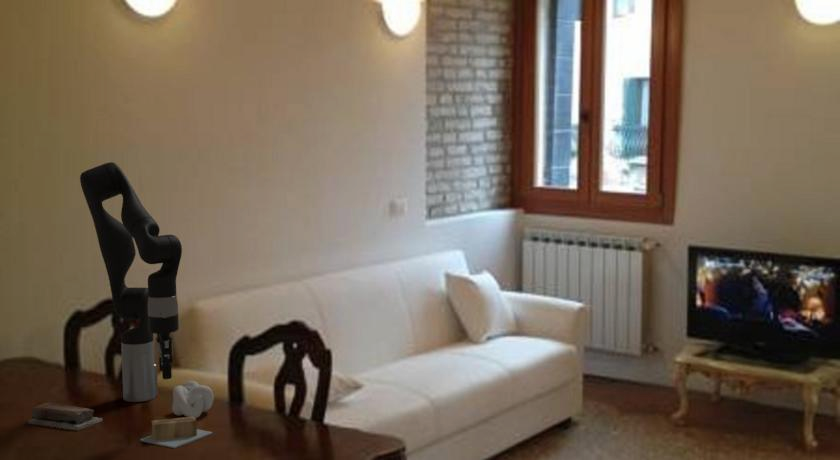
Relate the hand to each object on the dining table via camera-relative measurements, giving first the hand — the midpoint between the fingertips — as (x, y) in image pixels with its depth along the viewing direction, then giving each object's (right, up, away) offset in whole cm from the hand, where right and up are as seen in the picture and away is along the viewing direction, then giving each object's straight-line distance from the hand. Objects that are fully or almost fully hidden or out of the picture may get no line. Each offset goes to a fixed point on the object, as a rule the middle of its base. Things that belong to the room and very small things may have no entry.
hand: (165, 374), depth 261 cm
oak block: (-4, -14, 0) cm, 15 cm away
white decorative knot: (+1, -15, +23) cm, 27 cm away
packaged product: (-32, -16, +16) cm, 39 cm away
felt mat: (+2, -17, +2) cm, 17 cm away
